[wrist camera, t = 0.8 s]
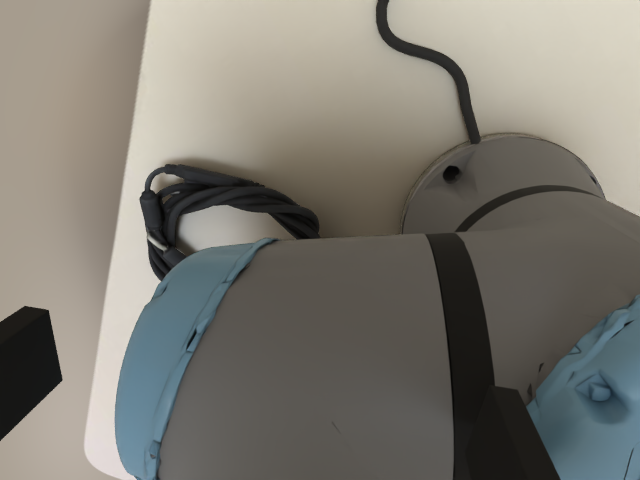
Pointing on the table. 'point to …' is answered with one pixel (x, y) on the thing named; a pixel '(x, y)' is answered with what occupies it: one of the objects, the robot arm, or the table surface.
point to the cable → (207, 192)
